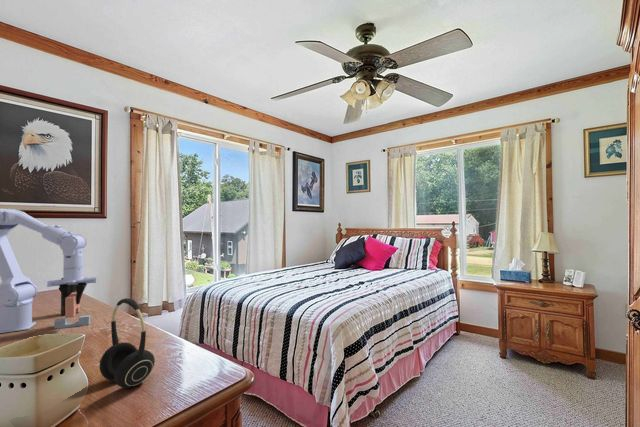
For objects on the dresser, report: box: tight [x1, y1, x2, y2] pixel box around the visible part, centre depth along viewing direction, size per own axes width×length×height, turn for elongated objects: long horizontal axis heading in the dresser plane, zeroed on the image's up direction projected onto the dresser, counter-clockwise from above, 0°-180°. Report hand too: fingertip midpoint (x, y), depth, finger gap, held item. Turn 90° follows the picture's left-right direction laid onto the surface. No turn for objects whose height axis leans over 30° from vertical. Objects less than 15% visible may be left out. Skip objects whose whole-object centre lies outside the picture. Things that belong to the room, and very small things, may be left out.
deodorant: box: [60, 277, 80, 317], centre depth 131 cm, size 6×6×15 cm
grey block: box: [54, 314, 91, 330], centre depth 115 cm, size 10×2×3 cm, turn 117°
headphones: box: [99, 298, 156, 389], centre depth 75 cm, size 9×15×20 cm, turn 58°
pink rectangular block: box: [64, 292, 81, 319], centre depth 115 cm, size 2×10×7 cm, turn 27°
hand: (73, 304), depth 115 cm, fingers closed on pink rectangular block, 2 cm apart
